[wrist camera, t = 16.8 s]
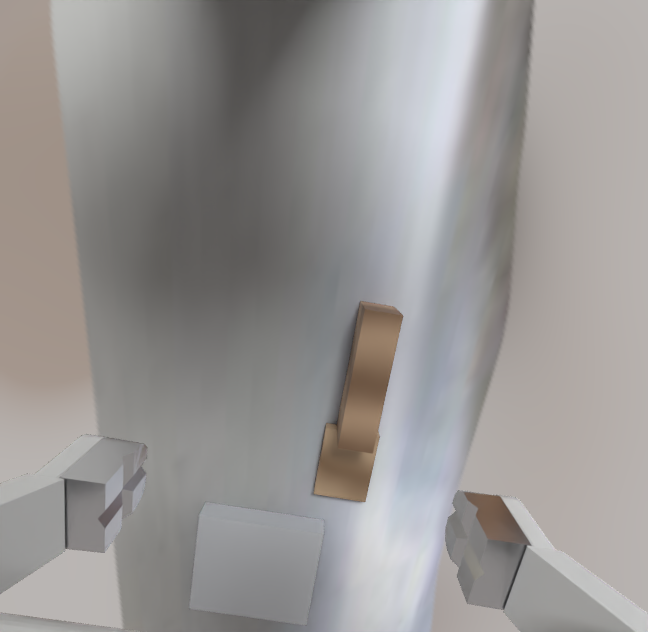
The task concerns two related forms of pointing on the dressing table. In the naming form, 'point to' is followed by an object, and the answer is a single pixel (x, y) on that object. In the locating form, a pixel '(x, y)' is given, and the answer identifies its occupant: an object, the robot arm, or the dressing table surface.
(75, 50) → the dressing table surface
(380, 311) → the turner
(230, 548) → the tile
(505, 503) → the robot arm
